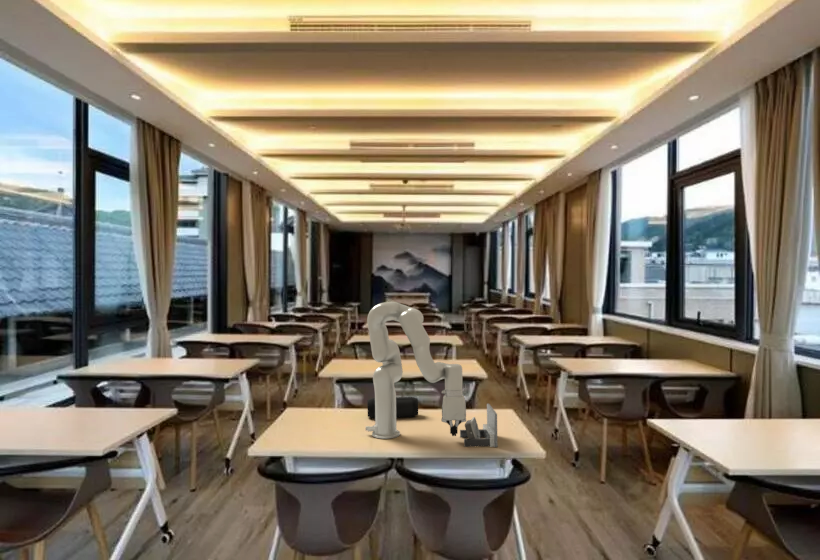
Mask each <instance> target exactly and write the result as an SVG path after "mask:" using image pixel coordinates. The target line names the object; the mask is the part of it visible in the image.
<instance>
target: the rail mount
mask: <svg viewBox="0 0 820 560" xmlns="http://www.w3.org/2000/svg"><path fill="white" fill-rule="evenodd" d="M478 429H479V428H478ZM479 432H480V436H481V437H480V438H471V439H468V436H467V432H466V429H459V438H461V437H462V438H463V446H464V448H466V447H467V448H469V447H471V448H472V447H473V448H474V447H475V446H476V447H477V446H478V447H490V448H496V447H498V413H497V412H496V410H495V409H494V408H493V406H491V403H486V423H484V424H482V429H479ZM470 434H471V433H470ZM484 437H485V438H484Z"/></svg>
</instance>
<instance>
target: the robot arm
mask: <svg viewBox="0 0 820 560" xmlns="http://www.w3.org/2000/svg"><path fill="white" fill-rule="evenodd" d="M366 319H367V320H366V323H367V329H368V335H369V342H370V343H369V344H370V350H371V354H372V358H373V360H374V361H375V362H377V363H381V364H382V365H380V366H378V367H377V368H376V369H375V370H374V372H373V374H372V382H373V383H372V384H373V388H374V398H375V418H374V421H375V422H374V425H371V426H370V425H369V426H368V425H365V431H366V432H371V436H372V437H374V438H377V439H383V440H385V439H395V438H397V437H399V436H400V435H401V431H399V430H398V429H397V427H398V426H397V417H396V397H397V392H396V387H395V383H398V382H399V381H400V380H401V379H402V377H403V374H404V373H403V372H404V371H403V364H402V358H401V352H400V348H399V345H398V343H397V342H396V341H394V340H392V339H389V331H388V328H387V325H386V323H387V322H390V321H395V322H397V323H399V324H400V326H401V328H402V330H403V332H404V334H405V336H406V337H407V340H408V341H409V344H410V345H411V347H412V350H413V354H414V359H415V362H416V365H417V367H418V368H419V369H418V370H419V371H420V373H421V375H422V376H423V378H424V380H426V381H427V382H429V383H431V384H432V383H433V384H434V383H437V382H439V381H441V380H444V389H443V390H441V394H444V395H443V397H442V405H441V422H442V423H446V424H448V426H449V434H451V436H452V437H457V434H458V427H459V425H460V424H462V423H466V422H467V407H466V400H465V396H464V395H463V367H462V365H461V364H459V363H446V362H441V361H437V362H435V361H434V359H433V356H432V354H431V350H430V346H431V345H430V344H431V338H430V336H429V335H428V332H427V331H426V329H425V327H424V325H423V323H424V315H423V313H422V312H421V310H419V309H416V308H415V307H411V306H408V305H406V304H402V303H400V302H397V301H388V302H387V301H385V302H380V303H378V304H376V305H374V306H373V307H371V309H370V310H369V312H368V314H367V318H366ZM453 421H454V423H453Z"/></svg>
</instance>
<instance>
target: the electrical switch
mask: <svg viewBox="0 0 820 560" xmlns="http://www.w3.org/2000/svg"><path fill="white" fill-rule="evenodd" d="M464 428H465V429H464V430H466V432H467V436H468V437H467V439H471V438H482V437H481V436H480V432H479V426H478V422H477V419H476V416H474V417H472V418H471V419H468V420H467V419H466V422H464ZM470 433H471V434H470Z"/></svg>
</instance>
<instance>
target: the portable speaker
mask: <svg viewBox="0 0 820 560" xmlns="http://www.w3.org/2000/svg"><path fill="white" fill-rule="evenodd" d="M418 415H419V400H418V398H417V397H414V396H398V397H397V396H396V418H411V417H412V418H413V417H416V416H418ZM367 417H369V418H372V419H375V397H372V398H369V399H367Z"/></svg>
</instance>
